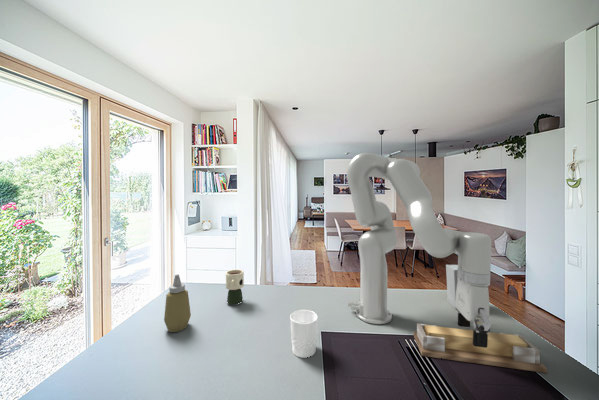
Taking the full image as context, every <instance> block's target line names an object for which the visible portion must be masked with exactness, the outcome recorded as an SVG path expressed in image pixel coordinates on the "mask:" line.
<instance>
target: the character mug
mask: <svg viewBox="0 0 599 400" xmlns="http://www.w3.org/2000/svg"><path fill="white" fill-rule="evenodd" d="M244 275H245V274H244V270H242V269H230V270H227V271H226V272H225V289H227V290H228V291H227V298H226V299H227V301H226V303H227V302H228V303H229V304H228V303H227V304H228V305H232V304H238V303H240V302H242V303H243V300H244V299H243V292H242V288H244V283H245V281H244V280H245V279H244V278H245V277H244ZM242 299H243V300H242ZM238 305H239V304H238Z"/></svg>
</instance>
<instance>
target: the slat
mask: <svg viewBox="0 0 599 400" xmlns="http://www.w3.org/2000/svg"><path fill="white" fill-rule="evenodd" d="M428 325H429V324H428ZM428 325H425V334H426V336H435V337H443V338H444V339H445V348H447V349H455V350H462V351H470V352H478V353H486V354H493V355H501V356H509V357H513V346H518V347H526V348H527V343H525V342H524V341H523V340H522V339H521V338H520V337H519V336H518V335H519V334H518V335H509V334H510V333H509V334H500V333H501V332H500V333H499V332H498V333H497V332H490V331H489V334H488V342H487V348H484V347H477V346H474V345H473V330H474V329H473V330H472V329H462V328H454V327H446V326H437V325H436V326H428Z"/></svg>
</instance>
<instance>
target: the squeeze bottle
mask: <svg viewBox="0 0 599 400" xmlns="http://www.w3.org/2000/svg"><path fill="white" fill-rule="evenodd" d="M190 305H191V304H190V299H189V291H188V290H186V285H185V283H182V281H181V277H180V274H179V273H178V274H175V275H174V279H173V283H172V284H171V285H170V286H169V292H168V293H166V297H165V308H164V319H163V321H164V324H165V326H166V328H167V331H168V332H171V333H176V332H181V331H183V330H185V329H186V328H187V327H188V325H189V321H190V319H191V316H192V314H191V307H190Z"/></svg>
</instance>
